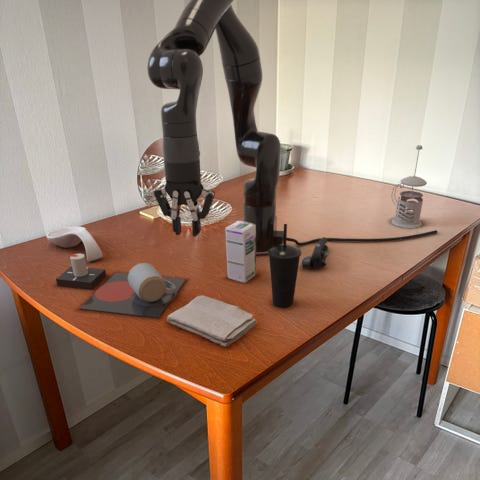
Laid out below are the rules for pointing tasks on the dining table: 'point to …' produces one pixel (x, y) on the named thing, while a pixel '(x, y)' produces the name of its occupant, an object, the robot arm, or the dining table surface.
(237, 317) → the washcloth
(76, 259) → the hob knob
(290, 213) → the dining table surface
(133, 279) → the ceramic mug
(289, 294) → the drinking cup
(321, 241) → the can opener
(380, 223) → the dining table surface
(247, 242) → the syrup box
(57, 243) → the spoon rest
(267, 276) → the dining table surface
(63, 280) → the control box
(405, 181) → the french press
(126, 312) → the hob
